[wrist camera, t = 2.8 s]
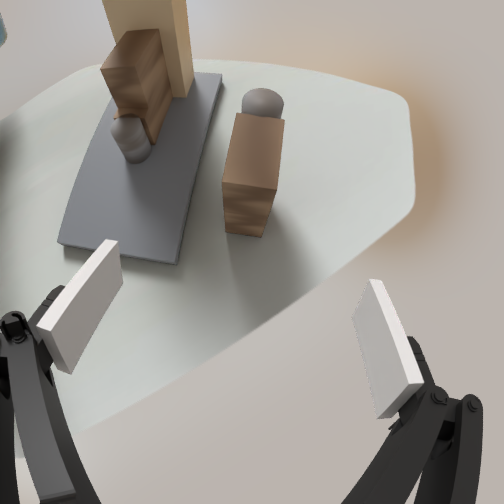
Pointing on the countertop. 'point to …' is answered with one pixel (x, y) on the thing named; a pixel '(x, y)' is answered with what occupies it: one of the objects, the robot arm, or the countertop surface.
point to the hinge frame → (160, 160)
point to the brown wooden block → (253, 163)
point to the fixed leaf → (138, 92)
